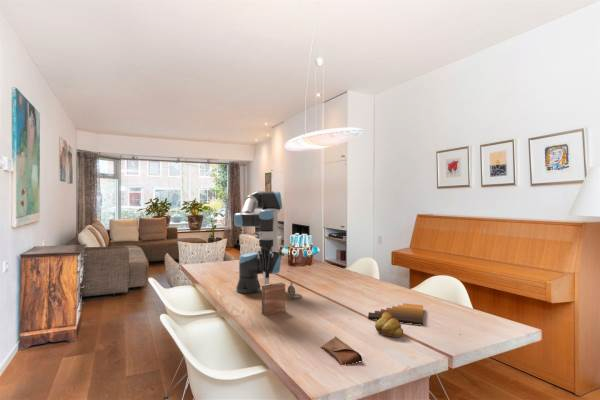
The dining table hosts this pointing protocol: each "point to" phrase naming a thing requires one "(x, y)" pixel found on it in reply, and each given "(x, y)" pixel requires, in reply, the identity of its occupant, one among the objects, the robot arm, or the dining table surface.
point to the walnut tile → (273, 298)
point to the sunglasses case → (341, 352)
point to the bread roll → (389, 325)
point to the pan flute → (402, 313)
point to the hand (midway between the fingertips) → (266, 283)
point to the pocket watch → (293, 292)
